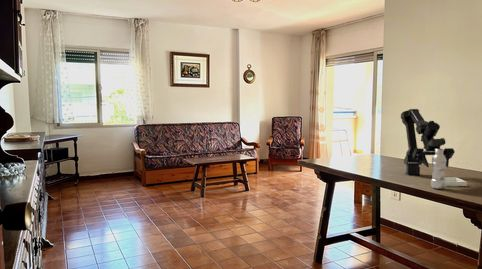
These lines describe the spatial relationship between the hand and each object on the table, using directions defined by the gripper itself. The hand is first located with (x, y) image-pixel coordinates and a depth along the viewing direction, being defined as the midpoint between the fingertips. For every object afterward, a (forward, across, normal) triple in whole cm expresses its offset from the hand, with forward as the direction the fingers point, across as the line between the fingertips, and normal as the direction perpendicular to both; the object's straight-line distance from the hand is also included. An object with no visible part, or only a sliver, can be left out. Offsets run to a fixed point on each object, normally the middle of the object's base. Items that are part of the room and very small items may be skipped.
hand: (437, 166), depth 174 cm
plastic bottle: (+8, 0, +7) cm, 11 cm away
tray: (+1, +10, +14) cm, 17 cm away
